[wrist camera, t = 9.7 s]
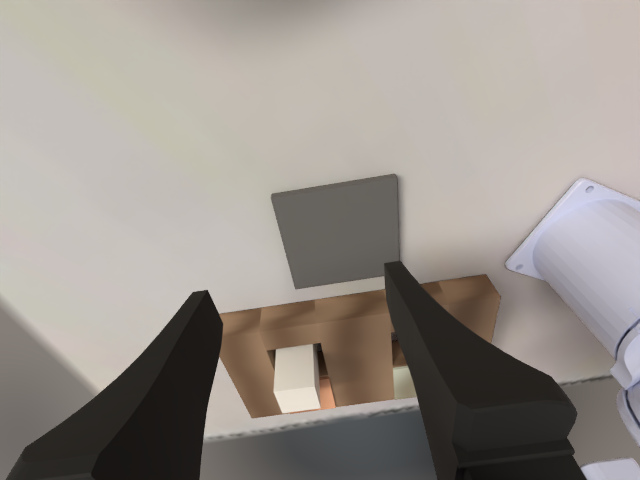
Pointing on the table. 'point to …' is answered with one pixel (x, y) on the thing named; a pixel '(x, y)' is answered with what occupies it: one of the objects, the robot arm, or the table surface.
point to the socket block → (342, 343)
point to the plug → (297, 378)
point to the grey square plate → (339, 230)
